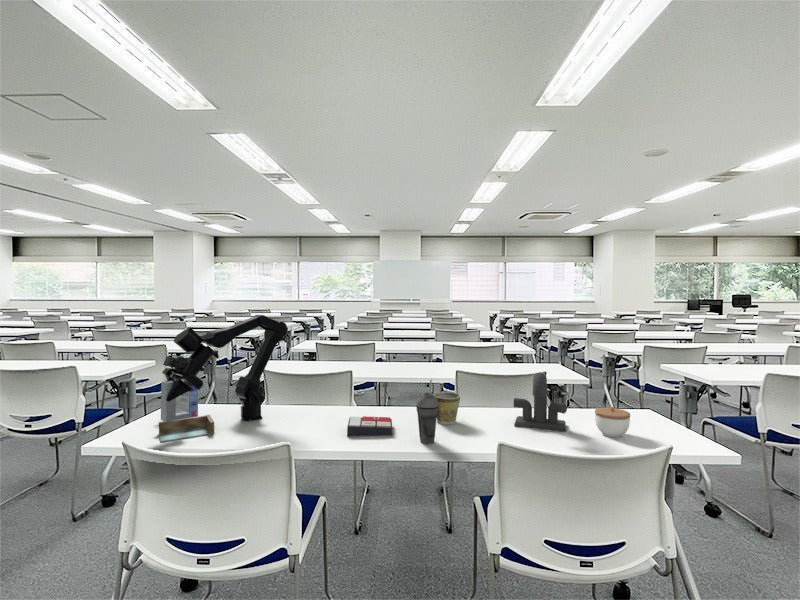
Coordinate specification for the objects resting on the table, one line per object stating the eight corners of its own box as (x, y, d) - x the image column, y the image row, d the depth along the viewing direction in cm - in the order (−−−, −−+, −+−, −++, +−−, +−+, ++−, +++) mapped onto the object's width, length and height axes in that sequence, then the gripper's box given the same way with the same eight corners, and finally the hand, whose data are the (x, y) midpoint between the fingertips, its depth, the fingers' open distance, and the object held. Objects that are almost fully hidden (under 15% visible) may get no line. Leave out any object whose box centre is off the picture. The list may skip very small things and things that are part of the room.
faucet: (510, 432, 149) (510, 374, 148) (514, 419, 164) (515, 366, 163) (567, 439, 143) (567, 378, 142) (566, 425, 157) (567, 369, 157)
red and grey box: (392, 426, 146) (347, 424, 145) (391, 438, 146) (346, 437, 145) (391, 416, 157) (349, 414, 156) (391, 428, 157) (349, 426, 156)
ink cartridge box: (199, 415, 170) (198, 378, 169) (189, 419, 164) (189, 381, 164) (176, 413, 172) (176, 377, 171) (166, 417, 166) (166, 380, 166)
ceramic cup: (457, 427, 154) (457, 399, 154) (429, 424, 157) (430, 397, 157) (463, 417, 167) (463, 391, 166) (438, 415, 170) (438, 389, 169)
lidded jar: (588, 429, 152) (589, 403, 152) (618, 429, 153) (618, 402, 152) (604, 440, 141) (605, 411, 141) (636, 439, 142) (637, 411, 142)
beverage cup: (414, 438, 143) (414, 377, 143) (436, 437, 144) (436, 377, 143) (417, 446, 136) (417, 382, 136) (440, 445, 137) (440, 381, 136)
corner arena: (209, 425, 156) (209, 414, 156) (214, 433, 148) (214, 422, 148) (158, 433, 148) (158, 422, 148) (160, 442, 139) (160, 430, 139)
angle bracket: (165, 422, 140) (166, 383, 140) (160, 419, 143) (161, 381, 143) (189, 417, 146) (190, 380, 146) (184, 415, 148) (184, 378, 148)
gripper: (167, 344, 151) (133, 381, 143) (192, 349, 139) (156, 390, 131) (190, 363, 157) (159, 400, 149) (217, 369, 145) (184, 410, 137)
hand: (164, 399), depth 141 cm, fingers closed on angle bracket, 4 cm apart
